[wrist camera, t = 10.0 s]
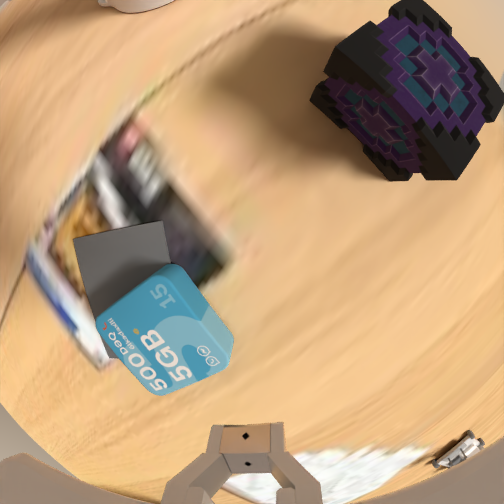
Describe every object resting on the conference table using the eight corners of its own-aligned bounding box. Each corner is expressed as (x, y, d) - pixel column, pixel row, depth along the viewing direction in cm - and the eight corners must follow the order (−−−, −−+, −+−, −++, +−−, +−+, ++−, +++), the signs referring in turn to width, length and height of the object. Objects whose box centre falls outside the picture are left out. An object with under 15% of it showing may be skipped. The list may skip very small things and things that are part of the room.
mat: (74, 238, 29) (73, 239, 29) (162, 220, 28) (161, 220, 28) (110, 356, 33) (109, 357, 32) (194, 357, 32) (193, 359, 31)
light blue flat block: (235, 365, 26) (155, 399, 28) (239, 342, 30) (166, 378, 32) (161, 269, 24) (89, 322, 26) (176, 257, 28) (108, 307, 30)
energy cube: (372, 45, 22) (413, -8, 10) (441, 118, 23) (506, 97, 12) (309, 100, 24) (335, 46, 13) (389, 181, 26) (456, 180, 14)
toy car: (439, 487, 27) (482, 453, 25) (426, 458, 37) (465, 426, 35) (460, 488, 29) (495, 460, 27) (449, 465, 39) (481, 438, 36)
